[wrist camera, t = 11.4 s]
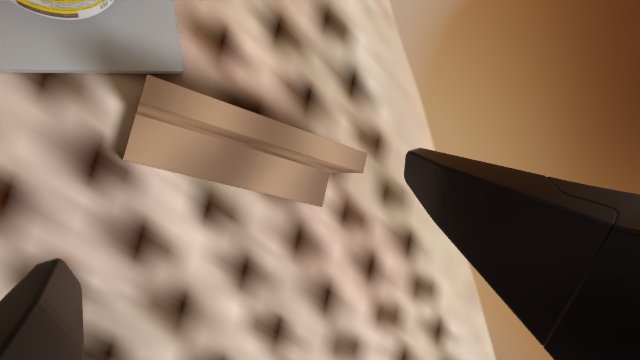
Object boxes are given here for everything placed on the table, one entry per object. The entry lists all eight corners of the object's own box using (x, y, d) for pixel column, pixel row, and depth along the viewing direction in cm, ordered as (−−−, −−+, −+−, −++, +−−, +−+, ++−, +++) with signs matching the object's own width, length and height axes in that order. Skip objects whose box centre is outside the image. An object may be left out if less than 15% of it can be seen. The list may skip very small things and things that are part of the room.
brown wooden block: (327, 155, 24) (367, 153, 20) (316, 205, 24) (354, 212, 20) (141, 94, 18) (147, 74, 14) (122, 160, 18) (124, 157, 14)
